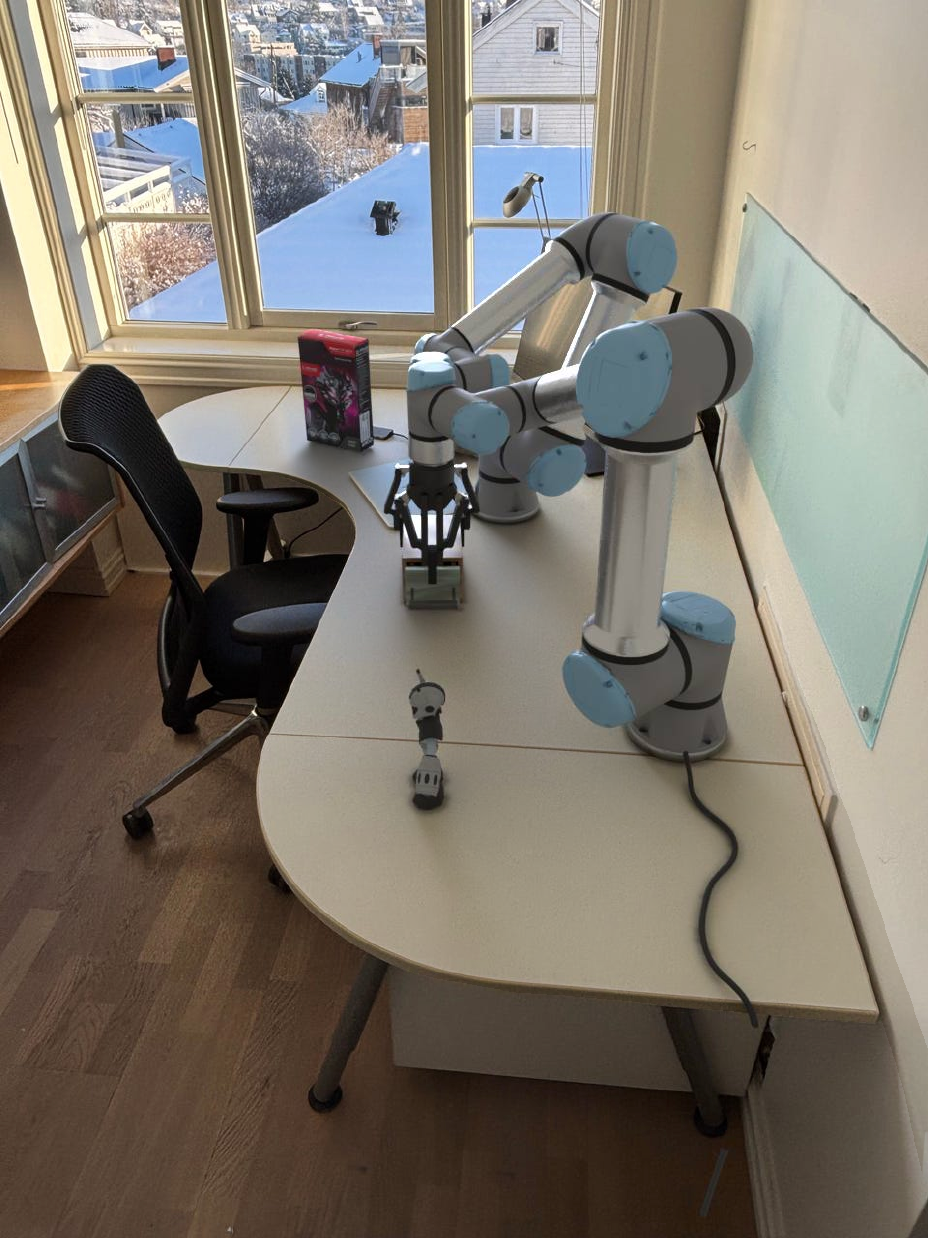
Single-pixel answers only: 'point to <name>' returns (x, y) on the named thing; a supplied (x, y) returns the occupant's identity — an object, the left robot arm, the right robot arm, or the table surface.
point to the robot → (428, 742)
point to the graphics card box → (336, 389)
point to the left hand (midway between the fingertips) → (432, 543)
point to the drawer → (432, 587)
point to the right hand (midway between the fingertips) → (432, 580)
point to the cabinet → (448, 553)
